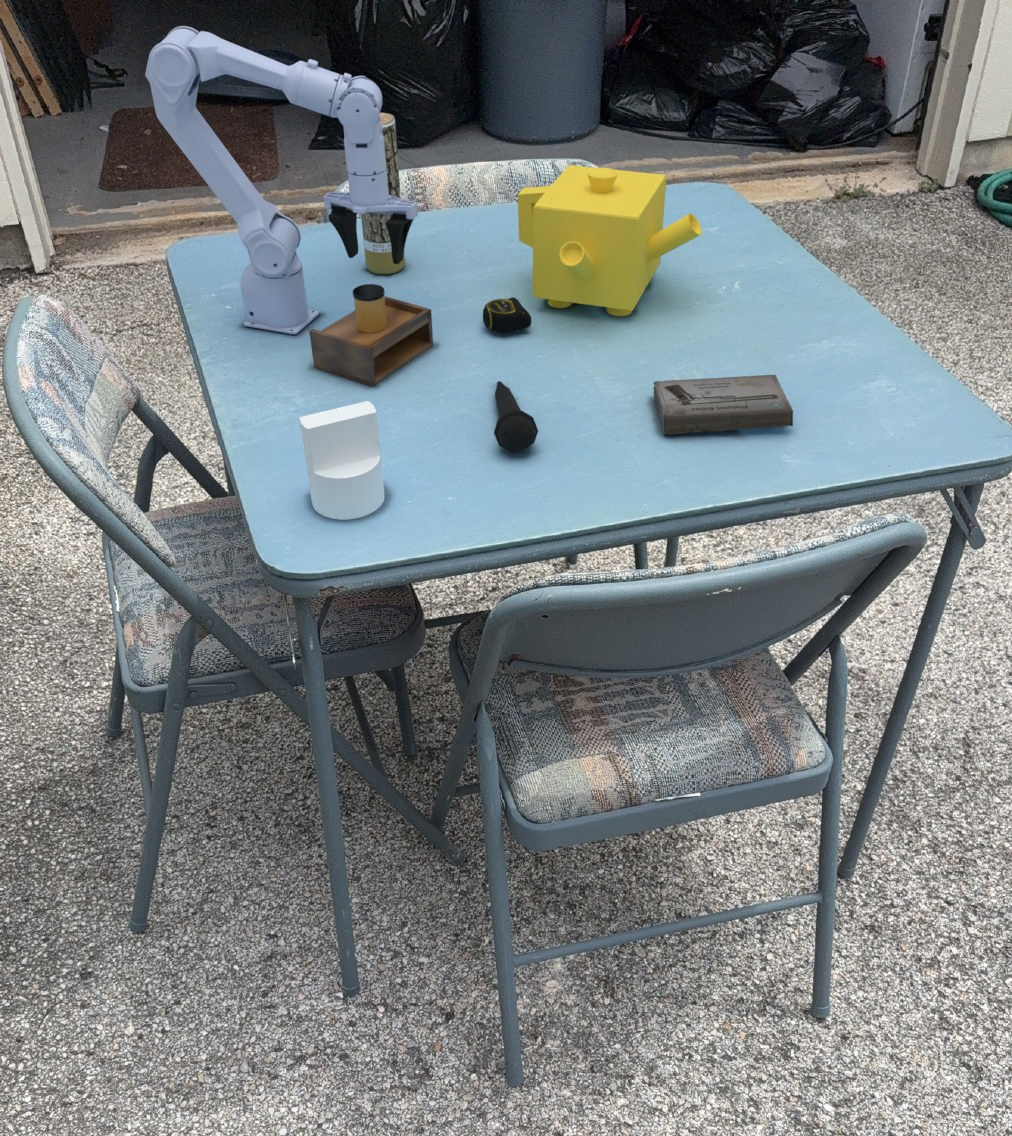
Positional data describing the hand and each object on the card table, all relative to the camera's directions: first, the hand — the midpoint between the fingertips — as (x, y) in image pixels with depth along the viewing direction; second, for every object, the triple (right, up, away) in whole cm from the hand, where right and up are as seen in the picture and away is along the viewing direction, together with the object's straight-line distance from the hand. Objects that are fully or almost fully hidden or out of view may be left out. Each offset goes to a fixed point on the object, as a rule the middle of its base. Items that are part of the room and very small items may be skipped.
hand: (375, 258), depth 173 cm
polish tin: (0, -12, -6) cm, 13 cm away
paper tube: (-1, +4, +23) cm, 23 cm away
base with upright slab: (0, -39, -32) cm, 50 cm away
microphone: (+21, -28, -18) cm, 39 cm away
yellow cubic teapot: (+36, -3, +13) cm, 39 cm away
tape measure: (+20, -10, +5) cm, 23 cm away
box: (+49, -27, -18) cm, 59 cm away
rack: (0, -16, -3) cm, 16 cm away
